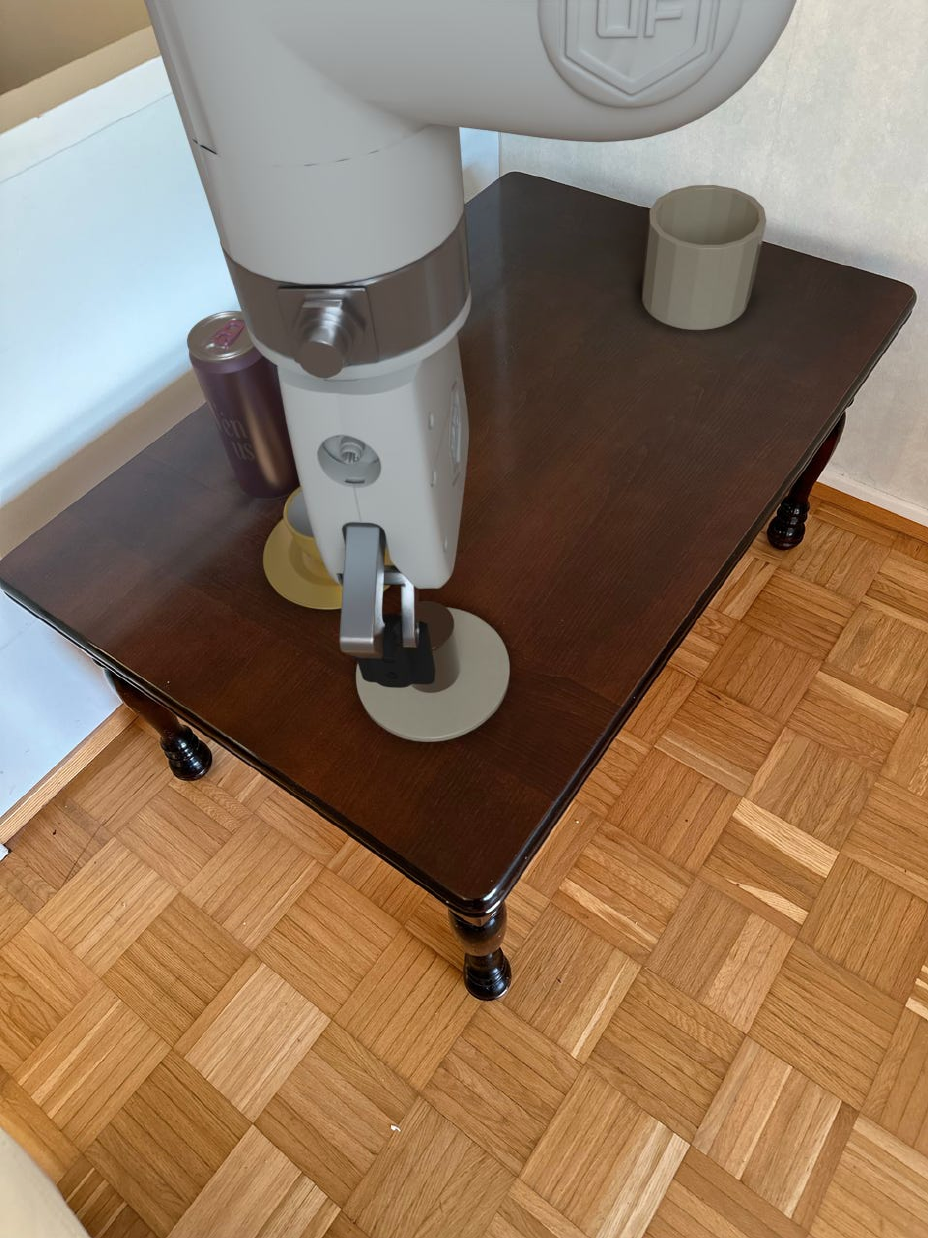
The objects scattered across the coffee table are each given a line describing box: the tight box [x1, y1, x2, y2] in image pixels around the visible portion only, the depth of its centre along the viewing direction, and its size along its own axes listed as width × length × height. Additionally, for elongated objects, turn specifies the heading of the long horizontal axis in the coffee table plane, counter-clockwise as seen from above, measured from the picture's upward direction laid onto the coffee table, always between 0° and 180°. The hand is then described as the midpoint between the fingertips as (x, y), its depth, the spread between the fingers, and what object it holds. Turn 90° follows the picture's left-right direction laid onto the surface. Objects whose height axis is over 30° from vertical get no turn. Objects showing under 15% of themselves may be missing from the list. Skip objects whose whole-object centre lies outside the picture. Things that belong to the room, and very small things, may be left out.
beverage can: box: [186, 310, 300, 502], centre depth 72 cm, size 6×6×15 cm
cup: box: [262, 486, 394, 610], centre depth 71 cm, size 12×12×5 cm
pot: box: [641, 184, 767, 331], centre depth 85 cm, size 10×10×8 cm
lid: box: [355, 600, 511, 743], centre depth 63 cm, size 11×11×7 cm
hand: (412, 590), depth 43 cm, fingers open, 9 cm apart
